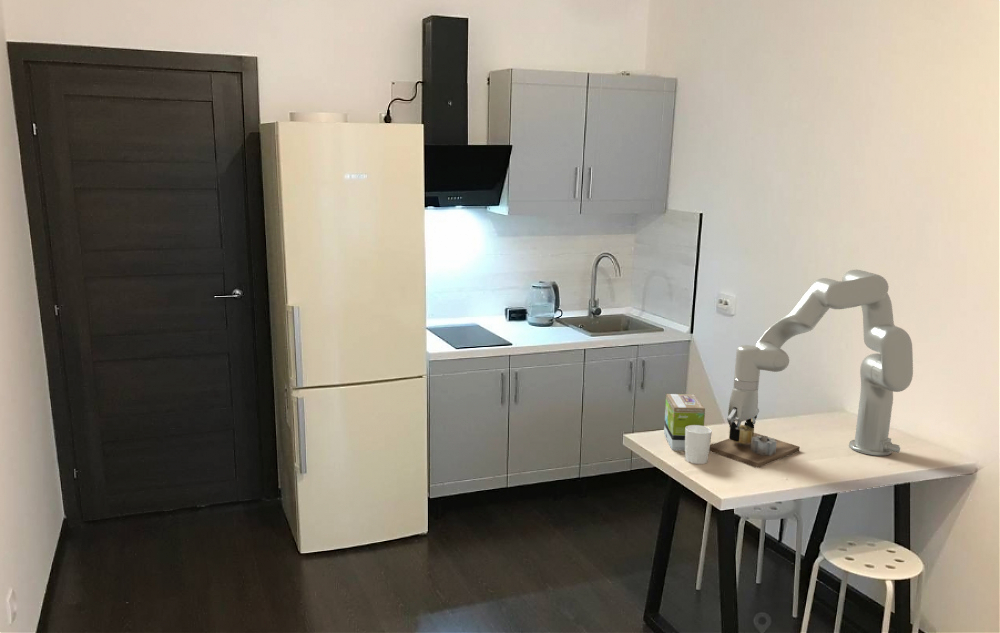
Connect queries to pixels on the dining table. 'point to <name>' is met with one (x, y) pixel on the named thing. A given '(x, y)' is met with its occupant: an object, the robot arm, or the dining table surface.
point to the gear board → (745, 453)
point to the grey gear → (763, 446)
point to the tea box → (681, 417)
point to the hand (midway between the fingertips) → (741, 437)
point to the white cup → (697, 443)
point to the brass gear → (744, 434)
